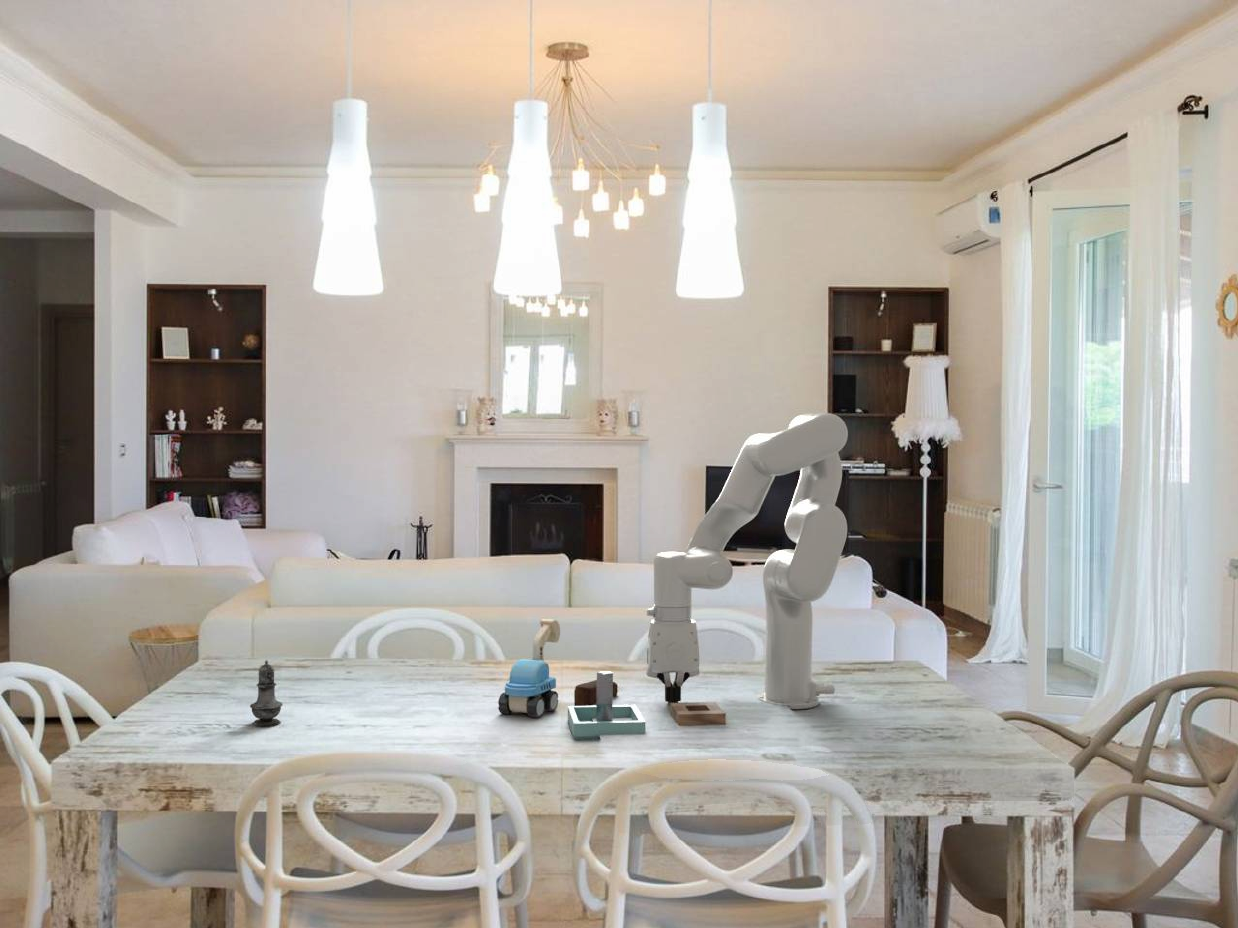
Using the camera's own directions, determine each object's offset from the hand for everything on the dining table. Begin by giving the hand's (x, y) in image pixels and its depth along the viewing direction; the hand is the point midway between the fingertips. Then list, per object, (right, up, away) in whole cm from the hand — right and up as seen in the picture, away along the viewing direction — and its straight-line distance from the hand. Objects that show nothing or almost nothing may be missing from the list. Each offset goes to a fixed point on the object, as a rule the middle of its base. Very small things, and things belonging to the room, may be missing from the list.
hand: (672, 704), depth 233 cm
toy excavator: (-28, -1, -2) cm, 28 cm away
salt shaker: (-77, -1, -15) cm, 79 cm away
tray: (-13, -1, -17) cm, 22 cm away
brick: (-16, -1, +3) cm, 16 cm away
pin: (-14, -1, -17) cm, 22 cm away
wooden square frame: (+4, -1, -12) cm, 12 cm away
